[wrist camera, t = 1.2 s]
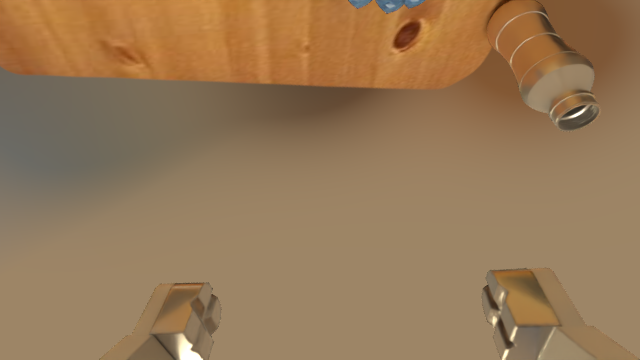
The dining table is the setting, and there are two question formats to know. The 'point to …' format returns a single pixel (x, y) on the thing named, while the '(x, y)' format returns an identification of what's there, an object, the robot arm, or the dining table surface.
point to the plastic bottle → (544, 64)
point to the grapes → (387, 4)
